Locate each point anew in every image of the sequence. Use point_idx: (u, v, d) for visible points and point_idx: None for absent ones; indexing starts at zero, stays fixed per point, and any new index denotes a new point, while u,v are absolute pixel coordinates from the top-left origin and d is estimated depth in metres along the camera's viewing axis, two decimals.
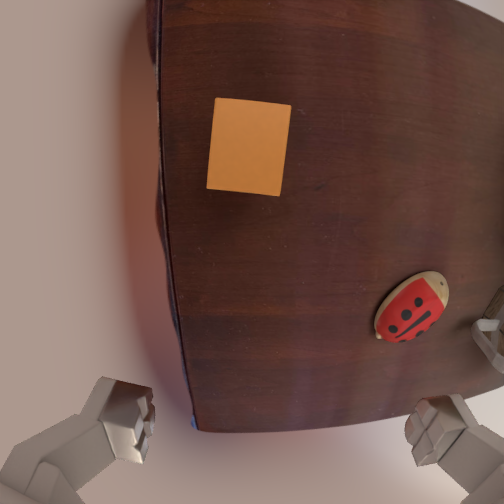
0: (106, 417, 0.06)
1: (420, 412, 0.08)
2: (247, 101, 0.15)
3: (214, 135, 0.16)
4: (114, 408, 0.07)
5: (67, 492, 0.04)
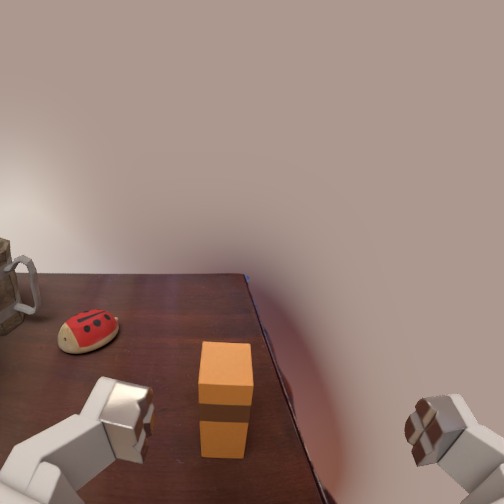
0: (106, 417, 0.06)
1: (420, 412, 0.08)
2: (230, 383, 0.22)
3: (249, 366, 0.24)
4: (114, 408, 0.07)
5: (67, 492, 0.04)
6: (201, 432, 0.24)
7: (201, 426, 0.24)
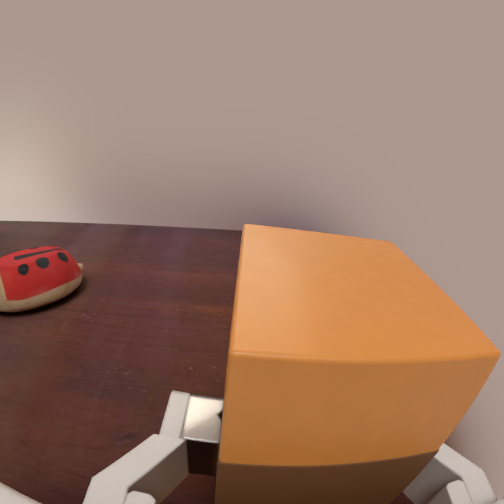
0: (189, 434, 0.06)
1: None
2: (416, 353, 0.03)
3: (438, 290, 0.05)
4: (196, 423, 0.07)
5: None
6: None
7: None
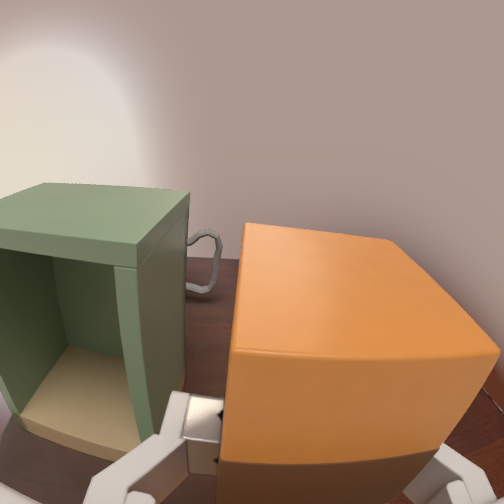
0: (189, 434, 0.06)
1: None
2: (417, 351, 0.03)
3: (438, 289, 0.05)
4: (196, 423, 0.07)
5: None
6: None
7: None
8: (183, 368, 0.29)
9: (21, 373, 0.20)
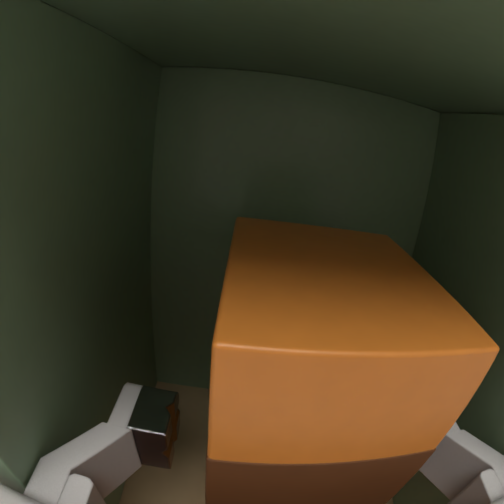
0: (135, 424, 0.06)
1: None
2: (411, 347, 0.03)
3: (434, 284, 0.05)
4: (143, 414, 0.07)
5: (98, 503, 0.04)
6: None
7: None
8: None
9: None
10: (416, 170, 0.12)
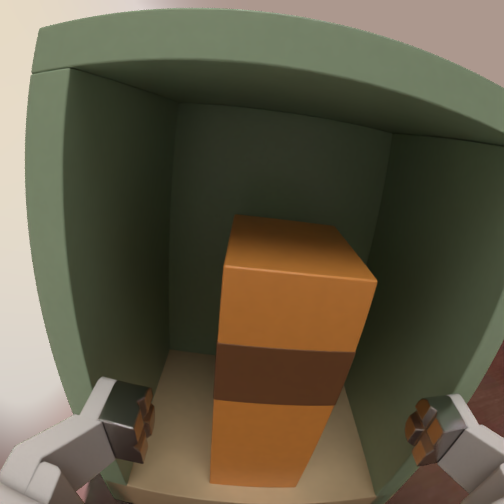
0: (106, 417, 0.06)
1: (420, 412, 0.08)
2: (316, 272, 0.08)
3: (351, 251, 0.10)
4: (114, 408, 0.07)
5: (67, 492, 0.04)
6: (214, 431, 0.10)
7: (216, 415, 0.10)
8: None
9: None
10: (372, 179, 0.17)
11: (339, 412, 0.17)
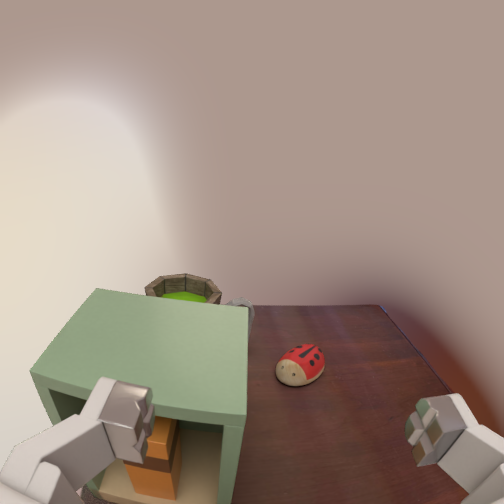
0: (106, 417, 0.06)
1: (420, 412, 0.08)
2: None
3: (168, 423, 0.21)
4: (114, 408, 0.07)
5: (67, 492, 0.04)
6: (128, 473, 0.21)
7: (127, 468, 0.21)
8: None
9: None
10: None
11: (211, 465, 0.28)
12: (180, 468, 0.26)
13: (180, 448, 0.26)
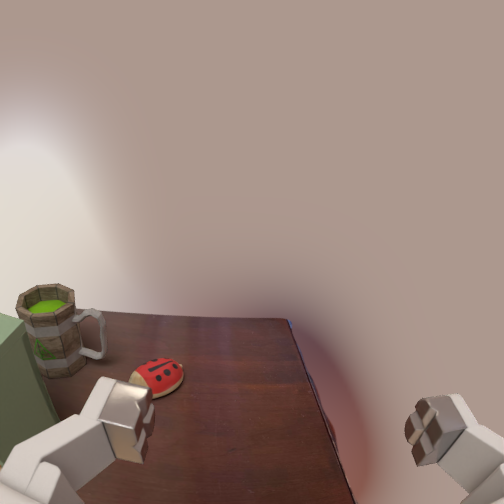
0: (106, 417, 0.06)
1: (420, 412, 0.08)
2: None
3: None
4: (114, 408, 0.07)
5: (67, 492, 0.04)
6: None
7: None
8: None
9: None
10: None
11: None
12: None
13: None
